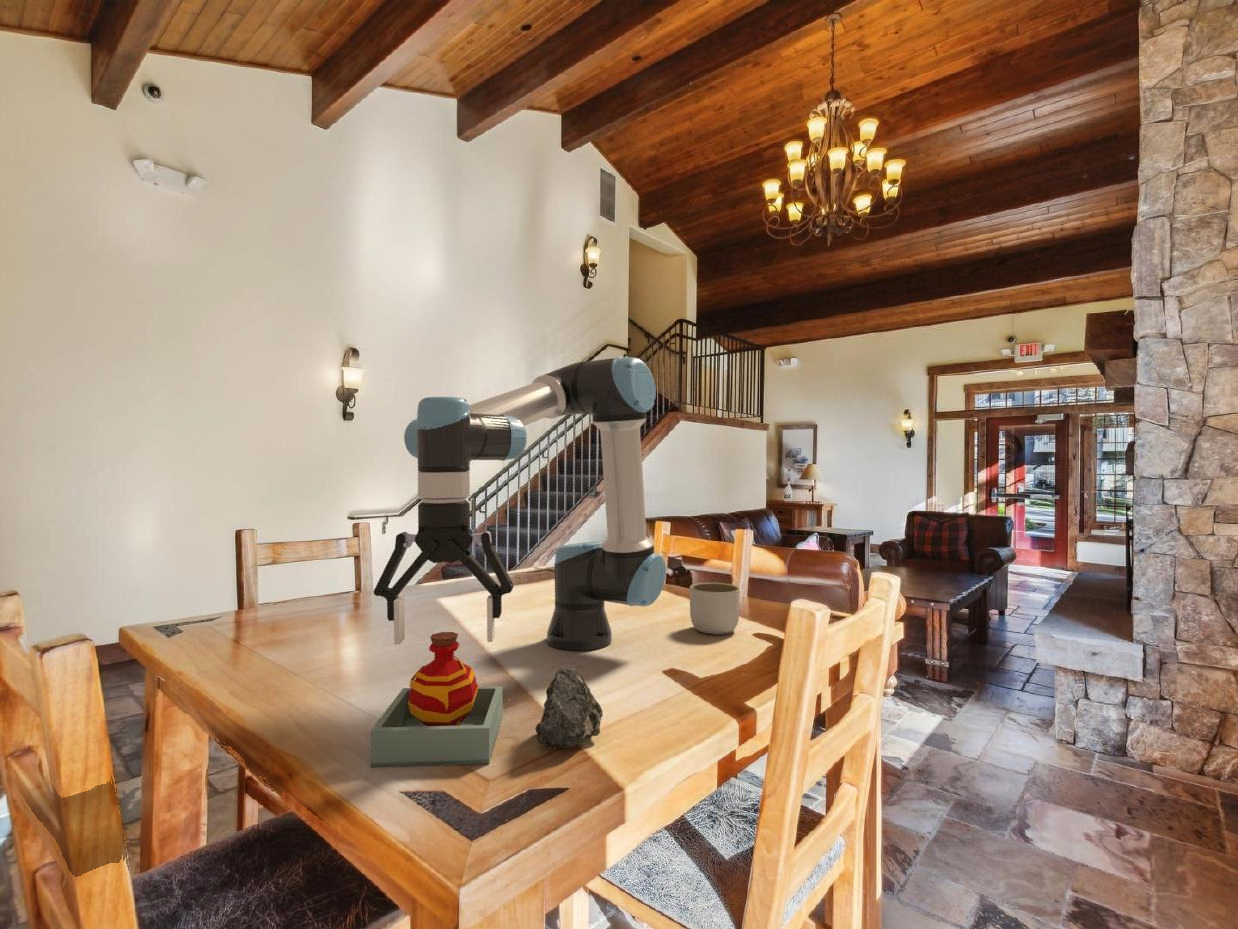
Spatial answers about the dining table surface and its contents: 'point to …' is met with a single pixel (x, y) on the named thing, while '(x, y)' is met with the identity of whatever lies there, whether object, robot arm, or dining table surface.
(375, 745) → the bin
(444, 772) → the dining table surface
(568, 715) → the rock
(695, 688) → the dining table surface
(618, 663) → the dining table surface
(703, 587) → the planter
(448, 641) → the potion bottle
